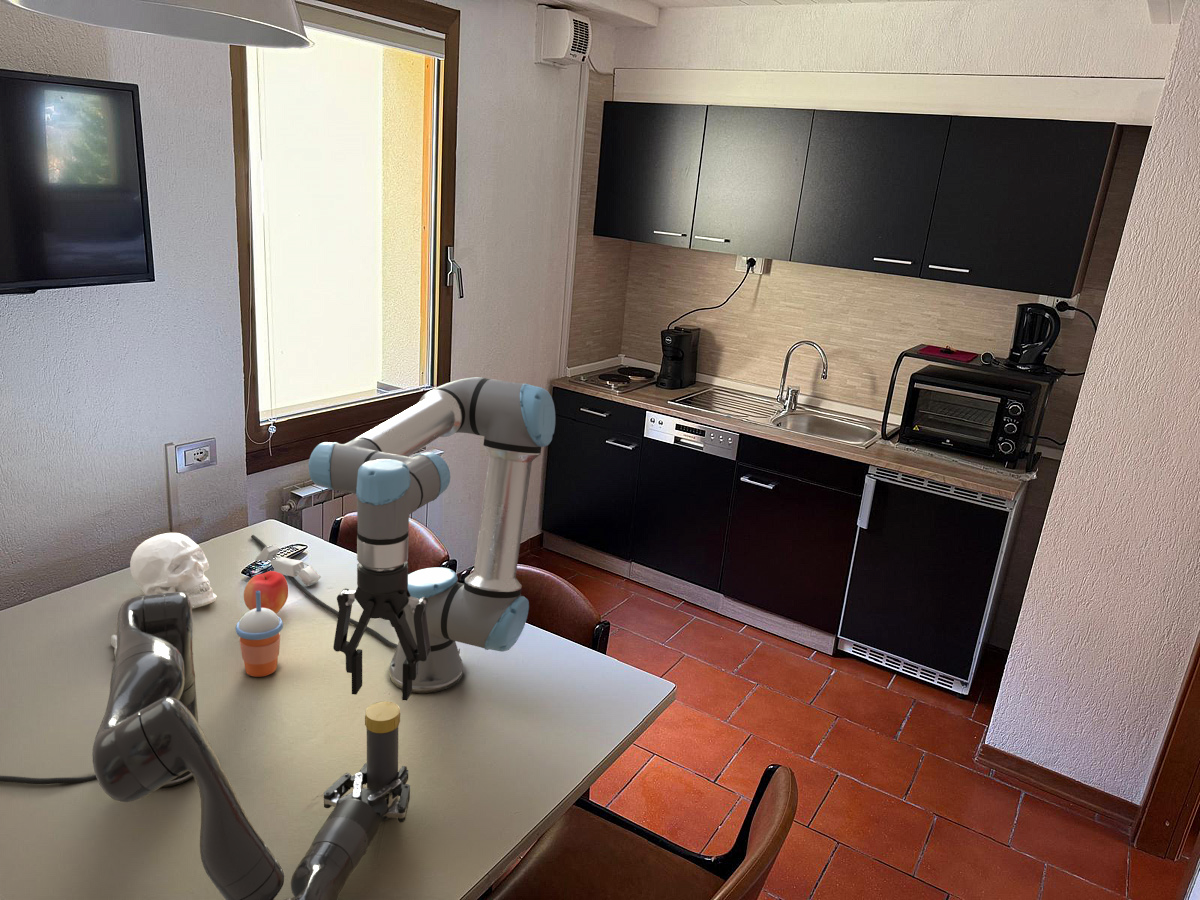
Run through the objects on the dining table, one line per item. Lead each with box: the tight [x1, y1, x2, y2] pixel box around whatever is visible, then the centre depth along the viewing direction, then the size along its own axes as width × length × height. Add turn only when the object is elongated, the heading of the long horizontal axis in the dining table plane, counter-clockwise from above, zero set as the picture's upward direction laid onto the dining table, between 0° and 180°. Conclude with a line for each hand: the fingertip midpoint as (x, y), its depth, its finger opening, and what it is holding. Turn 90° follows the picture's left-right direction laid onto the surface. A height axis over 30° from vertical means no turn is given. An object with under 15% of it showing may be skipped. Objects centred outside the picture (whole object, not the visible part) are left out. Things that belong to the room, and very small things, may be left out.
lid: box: [364, 700, 401, 733], centre depth 138 cm, size 6×6×2 cm
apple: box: [243, 570, 289, 614], centre depth 199 cm, size 10×10×10 cm
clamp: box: [254, 544, 322, 587], centre depth 219 cm, size 20×4×7 cm, turn 62°
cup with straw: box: [235, 591, 284, 678], centre depth 176 cm, size 9×9×18 cm
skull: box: [129, 532, 217, 609], centre depth 203 cm, size 13×22×16 cm, turn 73°
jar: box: [366, 726, 399, 820], centre depth 140 cm, size 5×5×19 cm
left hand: (388, 767), depth 144 cm, fingers closed on jar, 5 cm apart
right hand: (382, 692), depth 136 cm, fingers open, 7 cm apart
